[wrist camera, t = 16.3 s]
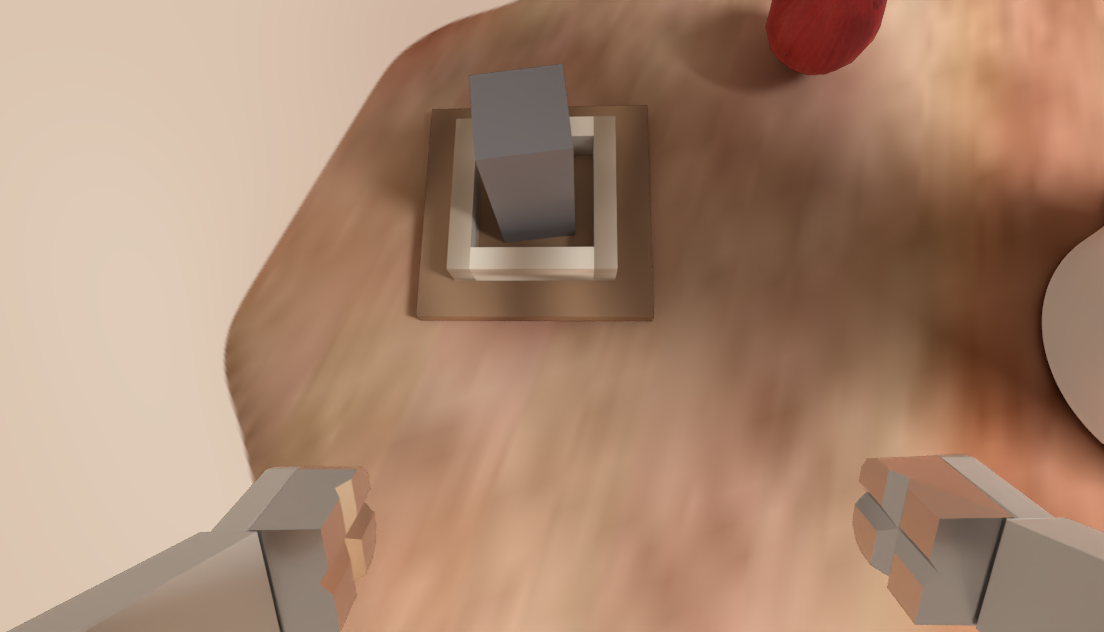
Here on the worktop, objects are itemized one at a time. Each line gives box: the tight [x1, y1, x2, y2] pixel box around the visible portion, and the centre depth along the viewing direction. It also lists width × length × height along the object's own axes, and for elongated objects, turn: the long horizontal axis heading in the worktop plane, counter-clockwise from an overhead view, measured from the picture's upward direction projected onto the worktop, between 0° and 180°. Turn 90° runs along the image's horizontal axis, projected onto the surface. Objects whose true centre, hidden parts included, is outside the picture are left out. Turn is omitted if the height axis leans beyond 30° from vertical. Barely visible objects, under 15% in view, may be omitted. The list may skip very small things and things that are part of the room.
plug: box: [469, 64, 575, 243], centre depth 27 cm, size 4×4×9 cm
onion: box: [766, 0, 887, 75], centre depth 30 cm, size 6×6×8 cm
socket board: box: [416, 105, 654, 321], centre depth 31 cm, size 13×13×3 cm
